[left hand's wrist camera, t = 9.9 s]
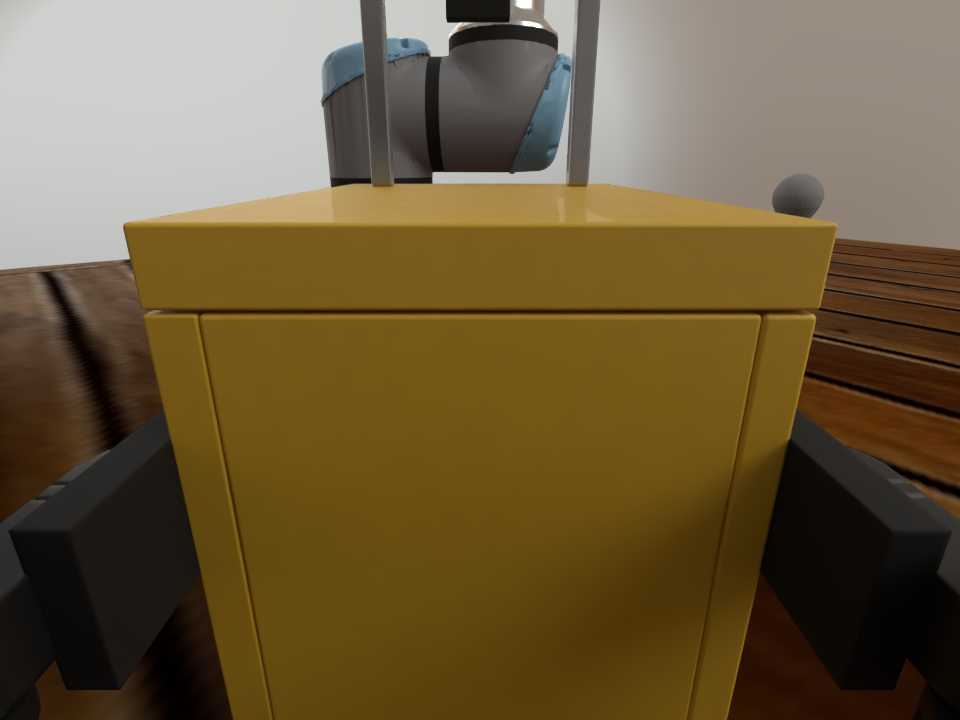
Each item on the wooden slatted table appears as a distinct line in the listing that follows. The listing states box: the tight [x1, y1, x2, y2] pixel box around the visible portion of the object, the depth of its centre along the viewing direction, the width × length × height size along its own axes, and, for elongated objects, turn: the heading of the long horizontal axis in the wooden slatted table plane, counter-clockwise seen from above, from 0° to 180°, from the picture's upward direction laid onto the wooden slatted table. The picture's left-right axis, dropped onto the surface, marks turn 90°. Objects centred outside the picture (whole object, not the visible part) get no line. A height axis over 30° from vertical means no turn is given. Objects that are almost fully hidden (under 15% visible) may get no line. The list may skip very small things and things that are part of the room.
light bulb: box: [772, 174, 824, 218], centre depth 73 cm, size 6×6×10 cm
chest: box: [143, 310, 816, 720], centre depth 16 cm, size 14×10×10 cm
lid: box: [123, 0, 837, 310], centre depth 13 cm, size 15×10×9 cm
